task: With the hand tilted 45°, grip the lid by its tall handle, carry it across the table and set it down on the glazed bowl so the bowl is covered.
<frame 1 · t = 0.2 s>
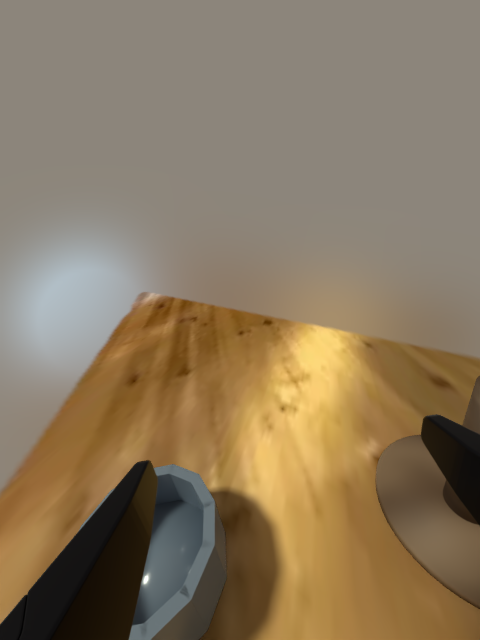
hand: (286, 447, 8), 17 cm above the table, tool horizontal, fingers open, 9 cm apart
lid: (465, 508, 20), on the table
bowl: (161, 566, 19), on the table
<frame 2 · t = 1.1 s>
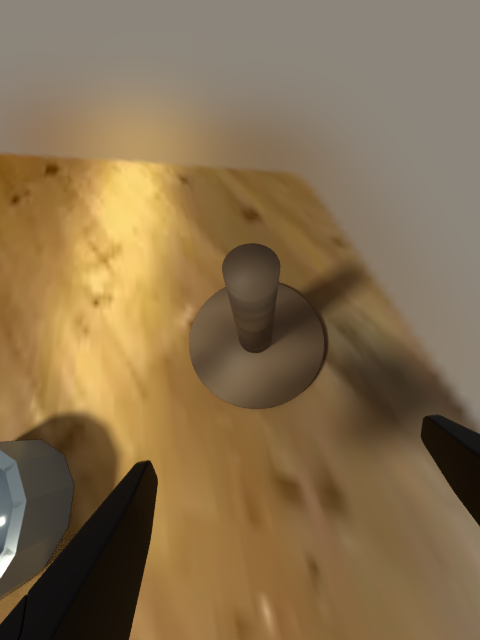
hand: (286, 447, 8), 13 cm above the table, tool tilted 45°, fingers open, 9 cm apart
lid: (255, 340, 24), on the table
bowl: (9, 510, 20), on the table
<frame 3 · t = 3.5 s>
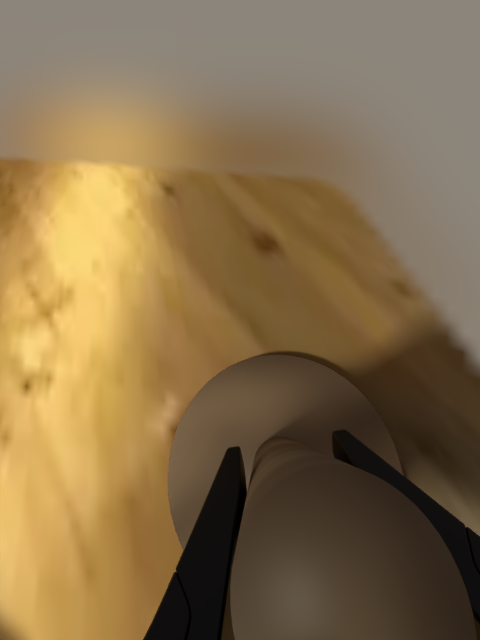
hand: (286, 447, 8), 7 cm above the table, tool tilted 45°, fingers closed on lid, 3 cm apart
lid: (280, 465, 14), on the table, touching gripper
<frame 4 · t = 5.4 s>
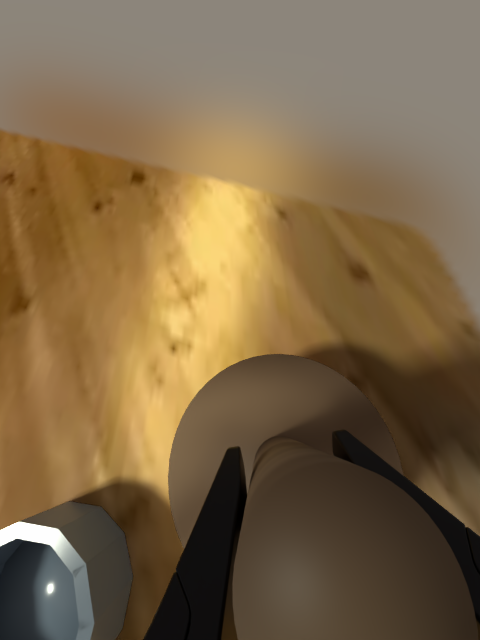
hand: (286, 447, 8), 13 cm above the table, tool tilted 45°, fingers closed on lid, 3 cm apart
lid: (280, 464, 14), point 6 cm above the table, touching gripper
bowl: (61, 588, 18), on the table
when the fingers open (12 cm above the table, at t = 7.2 s): lid stays where it is, resting on bowl.
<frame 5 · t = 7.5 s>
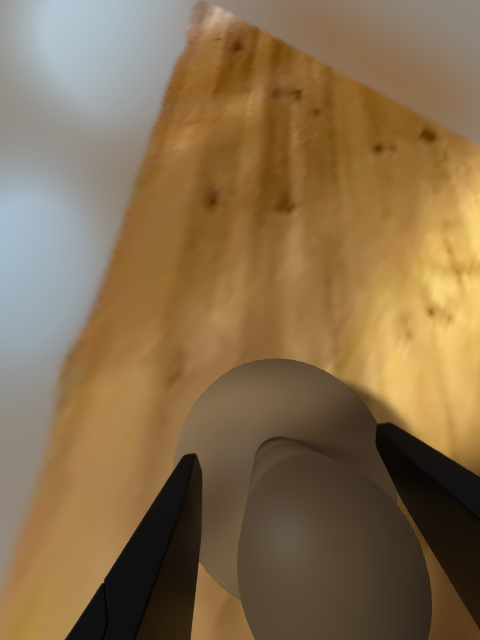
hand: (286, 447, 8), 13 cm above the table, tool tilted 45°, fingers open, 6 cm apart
lid: (279, 463, 15), point 4 cm above the table, touching bowl
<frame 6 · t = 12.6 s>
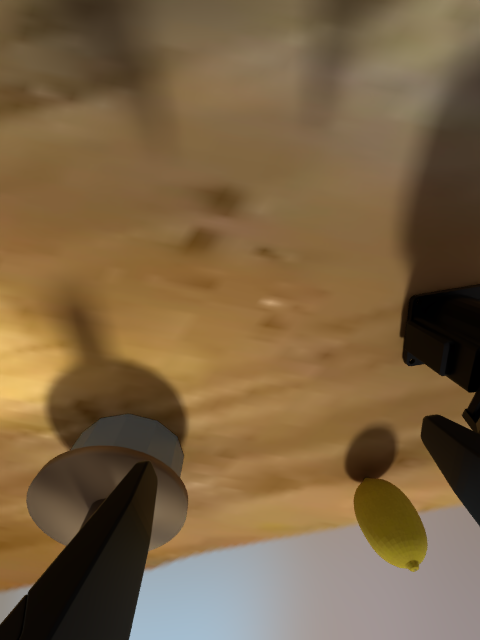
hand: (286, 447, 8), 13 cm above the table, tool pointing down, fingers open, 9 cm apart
lid: (113, 500, 21), point 4 cm above the table, touching bowl
lemon: (365, 476, 29), on the table
bowl: (131, 454, 25), on the table
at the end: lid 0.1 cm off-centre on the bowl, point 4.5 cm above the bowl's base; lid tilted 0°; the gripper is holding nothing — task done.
